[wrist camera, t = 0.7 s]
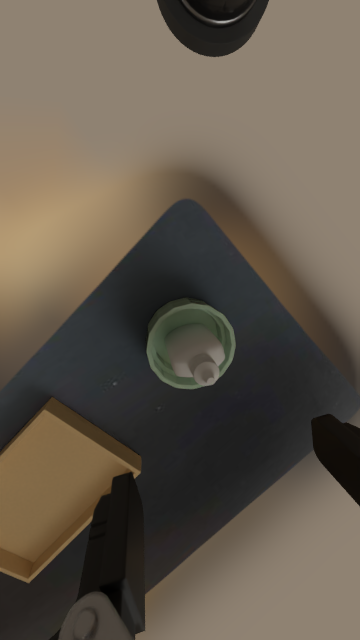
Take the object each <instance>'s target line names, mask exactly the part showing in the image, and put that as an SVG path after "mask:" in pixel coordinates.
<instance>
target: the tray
mask: <svg viewBox="0 0 360 640" xmlns="http://www.w3.org/2000/svg"><path fill="white" fill-rule="evenodd" d="M128 472H132V473H133V476H134V479H135V478H136V477H137V476H138V475H139V474H140V473H141V456H139V455H138V454H137V453H135V452H134V451H132V450H131V449H129V448H128V447H126V446H125V445H123V444H122V443H120V442H119V441H117V440H116V439H114V438H113V437H111V436H110V435H108V434H107V433H105V432H104V431H102V430H101V429H99V428H98V427H96V426H95V425H93V424H92V423H90V422H89V421H87V420H86V419H85V418H83V417H82V416H80V415H79V414H77V413H76V412H74V411H73V410H71V409H70V408H68V407H67V406H65V405H64V404H62V403H61V402H59V401H58V400H56V399H55V398H53V397H51V398H50V399H49V401H48V402H47V403H46V404H45V405H44V406H43V407H42V408H41V409H40V410H39V411H38V412H37V413H36V414H35V415H34V416H33V418H32V419H31V420H30V421H29V422H28V423H27V424H26V425H25V426H24V427H23V428H22V429H21V430H20V431H19V432H18V433H17V434H16V436H15V437H14V438H13V439H12V440H11V441H10V442H9V443H8V444H7V445H6V446H5V447H4V448H3V449H2V450H1V451H0V571H1V572H3V573H6V574H8V575H11V576H13V577H15V578H18V579H20V580H22V581H25V582H27V583H29V582H30V581H31V580H32V579H33V578H35V577H36V576H37V575H38V574H39V573H40V572H41V571H42V570H43V569H44V568H45V567H46V566H47V565H48V564H49V563H50V562H51V561H52V560H53V559H54V558H55V557H56V556H57V555H58V554H59V553H60V552H61V551H62V550H63V549H64V548H65V547H66V546H67V545H68V544H69V543H70V542H71V541H72V540H73V539H74V538H75V537H76V536H77V535H78V534H79V533H80V532H81V531H82V530H83V529H84V528H85V527H86V526H87V525H88V524H89V523H90V522H91V521H92V518H93V512H94V509H95V507H96V505H97V503H98V502H99V500H100V498H101V496H103V495H106V494H109V493H111V486H112V479H113V477H115V476H118V475H122V474H125V473H128Z"/></svg>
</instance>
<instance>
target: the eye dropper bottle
mask: <svg viewBox="0 0 360 640" xmlns="http://www.w3.org/2000/svg"><path fill="white" fill-rule="evenodd" d="M164 340H165V345H166V349H167V352H168V355H169V359H170V362H171V365H172V368H173V370H174V373H175V374H176V375H177V376H179V377H193V378H194V380H195V381H196V382H197V383H198V384H200V385H202V386H208V385H213V384H214V383H215V381H216V380H217V379H218V377H219V373H220V371H219V367H218V366H219V365H220V364H221V363H222V362H223V361H224V359H225V354H224V350H223V347H222V344H221V343H220V341H219V340H218V339H217V338H216V337H215V336H214V334H213V333H212V332H211V331H210V330H209V329H208V328H207V327H206V326H205V325H204V324H198V323H195V324H187V325H183V326H181V327H178V328H176V329H175V330H173V331H172V332H170V333H169V334H168V335H167V336H166V337H165V339H164Z"/></svg>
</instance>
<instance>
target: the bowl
mask: <svg viewBox="0 0 360 640" xmlns="http://www.w3.org/2000/svg"><path fill="white" fill-rule="evenodd" d="M195 323H198V324H204V325H205V326H206V327H207V328H208V329H209V330H210V331H211V332H212V333H213V334H214V336H215V337H216V338H217V339H218V340H219V341H220V343H221V344H222V347H223V350H224V354H225V359H224V361H223V362H222V363H221V364H220V365H219V366H218V367H219V371H220V373H219V377H220V376H222V375H223V374H224V372H225V371H226V369H227V368H228V366H229V365H230V363H231V362H232V359H233V355H234V351H235V346H236V343H235V337H234V331H233V328H232V326H231V325H230V323H229V322H228V320H227V319H226V317H225V316H224V315H223V314H222V313H220V312H219V311H218V310H216V309H215V308H213V307H212V306H210V305H209V304H207V303H205V302H204V301H202V300H198V299H192V298H181V299H177V300H173V301H170V302H168V303H167V304H165V305H164V306H163V307H161V308H160V309H158V310H157V311H156V312H155V314H154V316H153V317H152V319H151V321H150V322H149V324H148V327H147V334H146V352H147V356H148V360H149V363H150V367H151V369H152V370H153V371H154V372H155V374H156V375H157V376H158V377H159V378H160V379H161V380H162V381H163V382H165V383H167V384H169V385H171V386H173V387H175V388H184V389H195V388H199V387H203V386H202V385H200V384H198V383H197V382H196V381H195V380H194V378H193V377H179V376H177V375H176V374H175V373H174V370H173V368H172V365H171V362H170V359H169V355H168V352H167V349H166V345H165V340H164V339H165V337H166V336H167V335H168V334H169V333H170V332H172V331H173V330H175V329H176V328H178V327H181V326H183V325H187V324H195ZM219 377H218V378H219Z"/></svg>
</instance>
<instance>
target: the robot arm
mask: <svg viewBox="0 0 360 640" xmlns="http://www.w3.org/2000/svg"><path fill="white" fill-rule="evenodd" d="M179 1H180V3H181V4H182V6H183V7H184V9H185V10H186V11H187V12H188V13H189V14H190V16H192V17H193V18H194V19H195V20H197V21H198V22H200V23H201V24H203V25H206V26H208V27H212V28H226V27H230V26H233V25H235V24H237V23H238V22H240V21H241V20H242V19H243V18H244V17H245V16H246V15H247V14H248V13H249V11H250V10H251V8H252V7H253V5H254V3H255V1H256V0H179ZM311 425H312V437H313V448H314V451H315V454H316V456H317V457H318V459H319V461H320V462H321V463H322V464H323V465H324V467H325V468H326V469H327V470H328V471H329V472H330V473H331V475H332V476H333V477H334V478H335V479H336V480H337V481H338V482H339V483H340V485H341V486H342V487H343V488H344V489H345V490H346V491H347V492H348V494H349V495H350V496H351V497H352V498H353V499H354V500H355V502H356V503H357V504H358V505H359V506H360V428H358V427H356V426H353V425H351V424H349V423H347V422H346V423H341V422H340V421H339V420H338V419H336V418H335V417H334V416H333V415H331V414H326V415H323V416H319V417H316V418H313V419H312V421H311ZM143 631H145V585H144V516H143V507H142V502H141V498H140V495H139V492H138V488H137V485H136V482H135V479H134V476H133V473H132V472H128V473H125V474H122V475H118V476H115V477H113V479H112V486H111V493H109V494H106V495H103V496H101V498H100V500H99V502H98V503H97V505H96V507H95V509H94V512H93V518H92V523H91V529H90V534H89V541H88V545H87V550H86V556H85V561H84V566H83V572H82V577H81V583H80V588H79V593H78V597H77V600H76V603H75V605H74V606H73V607H72V608H71V610H70V611H69V613H68V614H67V616H66V618H65V620H64V622H63V625H62V627H61V628H60V630H59V631H58V632H57V633H56V634H55V635H54V636H53V637H51V638H50V639H49V640H135V634H137V633H140V632H143Z"/></svg>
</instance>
